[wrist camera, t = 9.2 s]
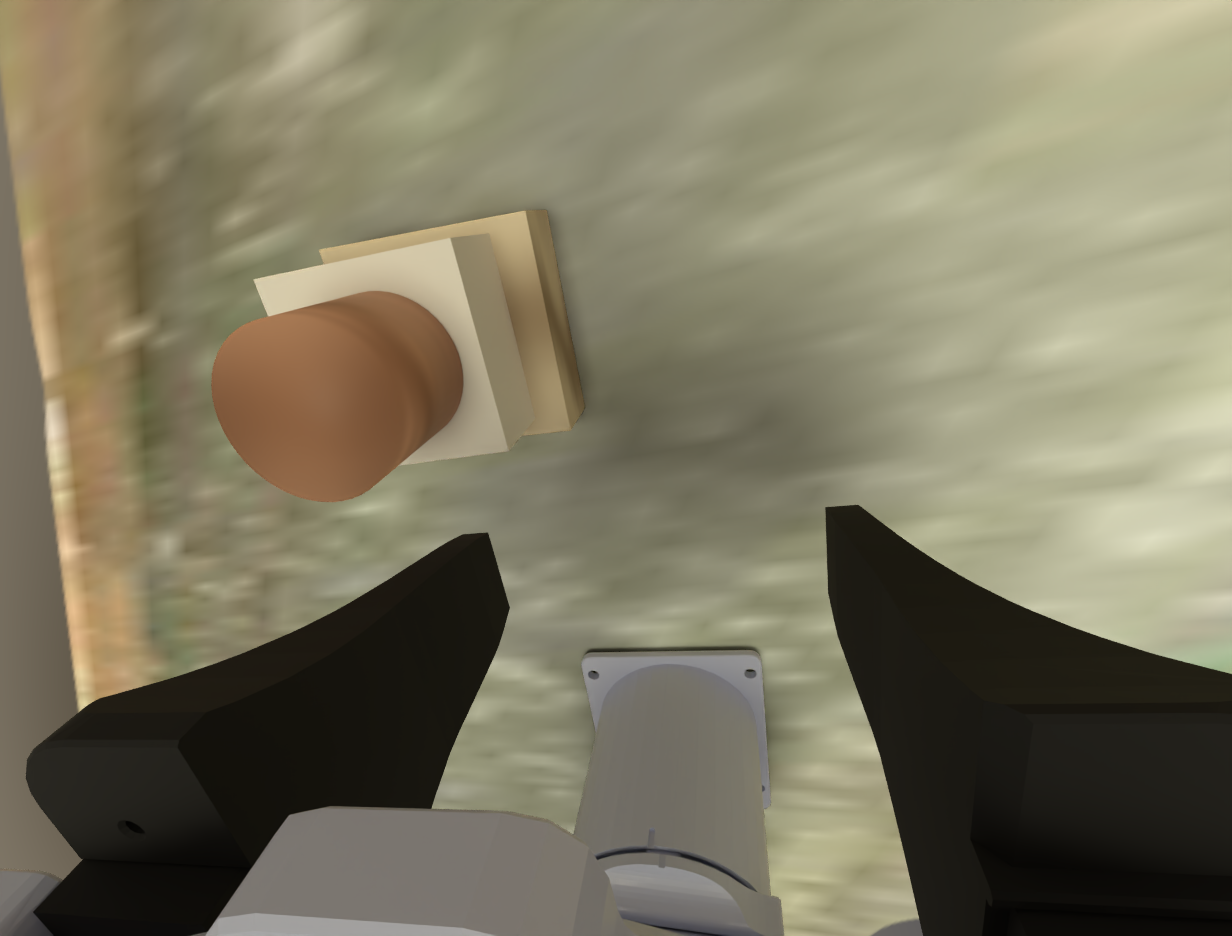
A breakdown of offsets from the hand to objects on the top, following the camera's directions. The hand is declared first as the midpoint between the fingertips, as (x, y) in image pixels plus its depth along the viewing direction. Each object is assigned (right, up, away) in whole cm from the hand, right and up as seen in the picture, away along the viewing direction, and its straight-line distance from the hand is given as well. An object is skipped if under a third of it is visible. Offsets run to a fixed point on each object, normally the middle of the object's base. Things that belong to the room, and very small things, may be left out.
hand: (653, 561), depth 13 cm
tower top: (-7, +6, +7) cm, 12 cm away
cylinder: (-7, +5, +4) cm, 10 cm away
